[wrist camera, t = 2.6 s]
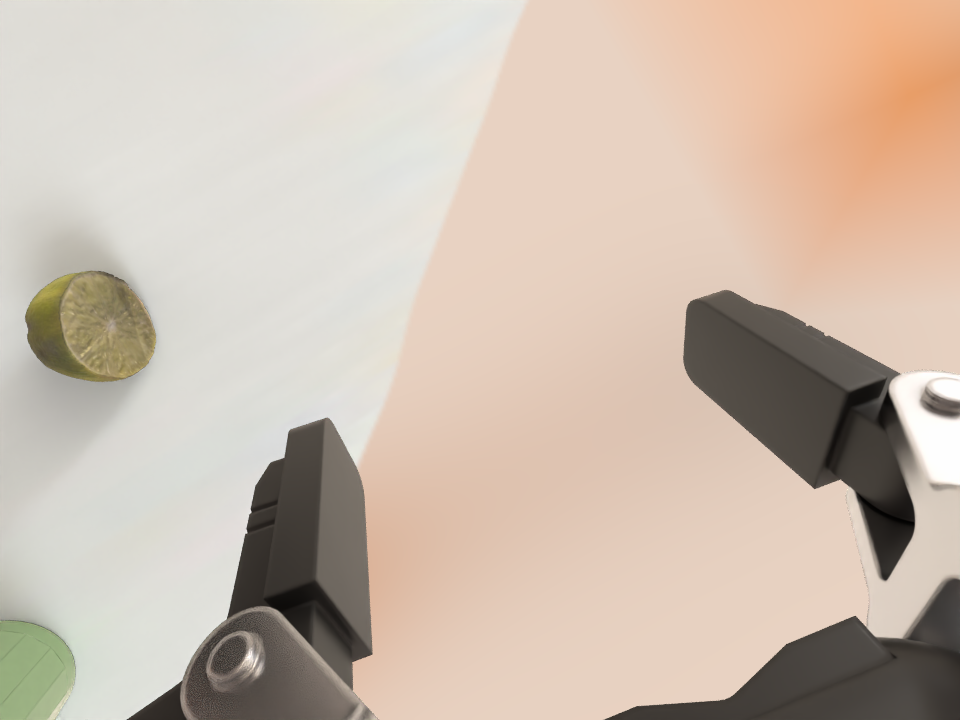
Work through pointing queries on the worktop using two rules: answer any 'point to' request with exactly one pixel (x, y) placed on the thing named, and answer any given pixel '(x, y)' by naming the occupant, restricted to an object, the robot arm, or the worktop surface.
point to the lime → (90, 327)
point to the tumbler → (33, 672)
